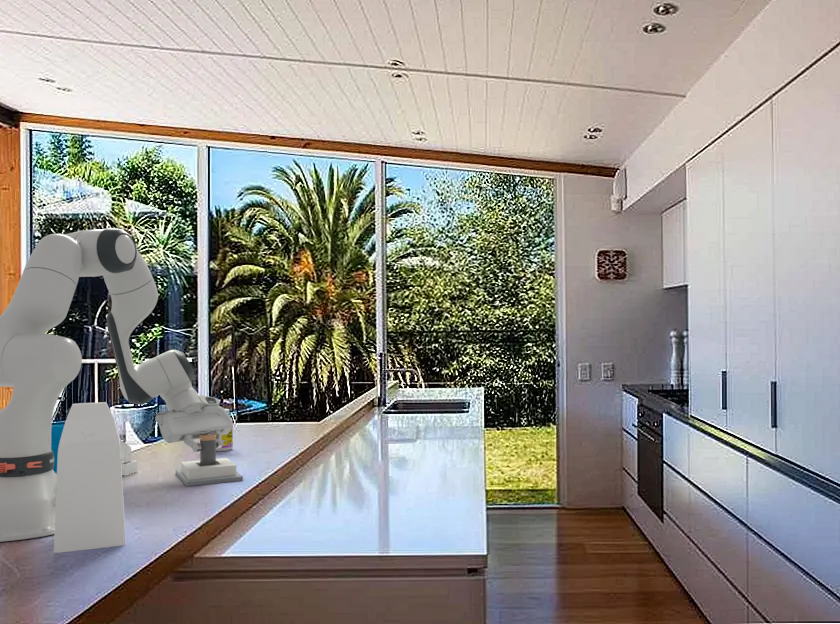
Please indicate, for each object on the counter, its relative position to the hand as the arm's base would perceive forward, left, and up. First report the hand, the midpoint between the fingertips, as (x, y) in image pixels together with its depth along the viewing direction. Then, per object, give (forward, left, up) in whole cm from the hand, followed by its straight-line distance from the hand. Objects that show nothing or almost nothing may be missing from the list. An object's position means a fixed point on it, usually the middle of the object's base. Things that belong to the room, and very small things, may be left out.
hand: (209, 448), depth 203 cm
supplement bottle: (+42, -12, -8) cm, 44 cm away
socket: (+1, 0, -8) cm, 8 cm away
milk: (-48, +31, -8) cm, 58 cm away
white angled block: (+16, +19, -8) cm, 27 cm away
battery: (0, 0, -6) cm, 6 cm away
